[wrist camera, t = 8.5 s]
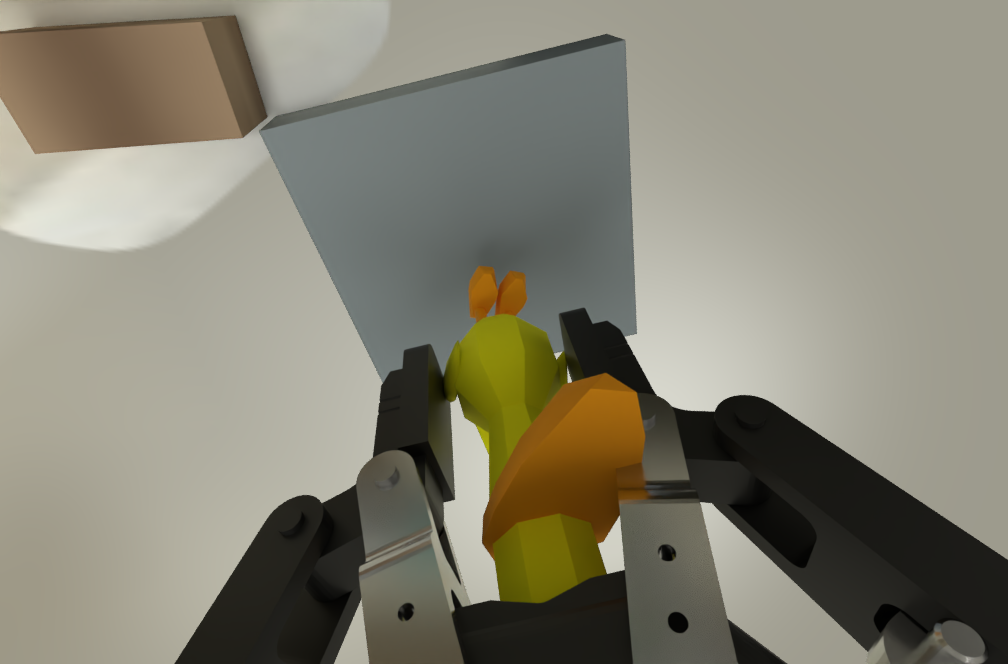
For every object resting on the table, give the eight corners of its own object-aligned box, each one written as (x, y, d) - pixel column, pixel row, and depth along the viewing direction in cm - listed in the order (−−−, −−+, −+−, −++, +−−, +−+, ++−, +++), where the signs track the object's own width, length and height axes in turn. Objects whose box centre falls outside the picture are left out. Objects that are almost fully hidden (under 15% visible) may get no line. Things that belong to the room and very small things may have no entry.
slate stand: (606, 34, 17) (625, 39, 15) (623, 309, 24) (636, 333, 22) (275, 117, 17) (259, 131, 15) (390, 365, 24) (387, 392, 23)
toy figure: (464, 182, 14) (568, 649, 4) (577, 203, 15) (869, 626, 5) (429, 360, 18) (446, 816, 8) (522, 368, 18) (634, 786, 9)
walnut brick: (237, 15, 15) (201, 22, 13) (269, 115, 17) (242, 138, 15) (37, 26, 15) (-38, 36, 12) (91, 128, 17) (35, 153, 14)
